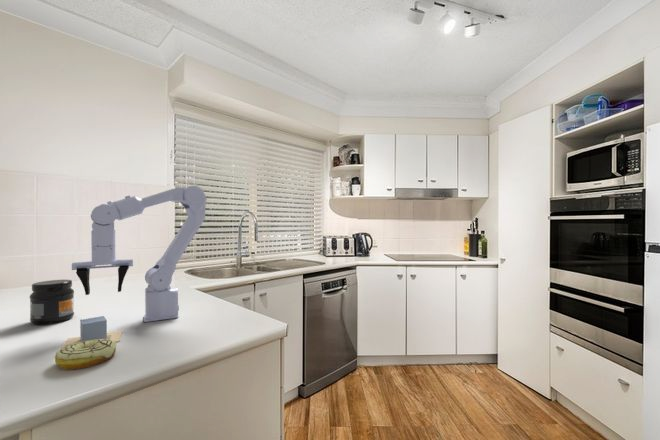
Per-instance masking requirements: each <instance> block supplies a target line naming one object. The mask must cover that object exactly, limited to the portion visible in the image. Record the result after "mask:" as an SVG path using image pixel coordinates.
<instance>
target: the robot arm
mask: <svg viewBox="0 0 660 440" xmlns="http://www.w3.org/2000/svg"><path fill="white" fill-rule="evenodd" d="M167 202H173V203H180V204H181V205H182V207H184V210H185V211H186V215H187V218H186V219H185V221H184V223H182V226H181V227H180V228H179V230H178V232H177V233H176V235H175V236H174V238H173V239H172V241H171V242H170V244H169V245H168V247H167V248H166V250H165V252H164V253H163V255H162V256H161V258H159V259H158V261H157V262H155V264H154V265H153V266H152V267H151V268H149V269H148V270H147V271H146V272H145V274H144V280H145V282H146V284H148V285H147V287H146V288H145V289H144V293H145V295H144V296H145V298H144V299H145V300H144V301H145V302H144V303H145V309H144V313H145V314H144V315H143V322H144V323H147V322H148V323H149V322H155V321H157V322H158V321H161V320H168V319H177V318H179V311H180V304H179V292H178V291H179V290H178V288H177V287H174V288H173V287H171V283H172V281H173V275H174V273H175V272H176V271H175V270H176V267H177V265H178V262H179V261H180V259H181V258H182V256H183V254H184V253H185V251H186V249H187V248H188V247H189V245H190V243H191V242H192V240H193V239H194V236H195V235H196V234H197V232H198V231H199V229H200V228H201V226H202V224H203V222H204V221H205V220H206V202H207V196H206V194H205V191H204V190H203V189H202V188H201V187H200V186H199V185H190V186H187V187H186V186H181V187H177V188H176V187H175V188H171V189H168V190H165V191H162V192H158V193H156V194H151V195H149V196H146V197H142V198H140V197H138V196H134V195H133V196H131V195H126V196H124V198H122V199H119V200H116V201H115V200H114V201H110V200H109V201H107V202H106V203H107V204H105V203H103V204H102V203H101V204H100V205H97V206H95V207H94V208H93V209H92V211H91V214H90V218H91V221H92V224H91V229H92V230H91V234H90V235H91V241H90V242H91V243H90V244H91V261H90V260H89V261H79V262H78V261H77V262H72V263H71V271H76V272H75V273H76V276H77V277H78V278H79V280H80V282H81V284H82V287H83V289H84V293H85V296H89V295H90V293H91V292H90V291H91V289H90V288H91V287H90V273H91V272H90V271H91V269H103V268H104V269H106V268H107V269H108V268H117V276H118V279H117V281H118V283H117V293H120V292H122V288H123V287H122V286H123V282H124V280H125V277H126V275H127V273H128V270H129V268H130V267H133V266H134V259H131V258H130V259H116V230H115V221H117V220H118V221H122V220H125V219H128V218H132V217H135V216H139V215H142V214H143V212H144V211H145V209H146V208H150V207H153V206H157V205H160V204H164V203H167Z"/></svg>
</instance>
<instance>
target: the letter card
mask: <svg viewBox="0 0 660 440" xmlns="http://www.w3.org/2000/svg"><path fill="white" fill-rule="evenodd" d="M122 335H123V330H117V331H116V330H115V331H111V332H110V331H108V332H107V339H111V340H113V341H114V342H116V343H118V342H119V343H120V342H121V338H122ZM65 340H66V341H64V343H63V345H62V346H61V347H60V349H62V348H64V347H65V346H68V345H71V344H74V343H77V342H81V339H80V336H75V337H70V338H67V339H65Z"/></svg>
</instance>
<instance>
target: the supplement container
mask: <svg viewBox="0 0 660 440" xmlns="http://www.w3.org/2000/svg"><path fill="white" fill-rule="evenodd" d="M72 287H73V280H72V279H52V280H44V281H38V282H34V283H32V284H31V291H32V292H31V294H30V295H29V301H30V302H29V308H30V309H29V313H30V314H29V322H30V323H31V324H32V325H36V326H37V325H38V326H39V325H40V326H42V325H53V324H57V323H62V322H66V321H68V320H70V319H72V318H73V317H74V316H75V311H74V308H75V307H74V306H75V305H74V302H75V301H74V300H75V299H74V298H75V297H74V295H75V290H74V289H73V288H72Z"/></svg>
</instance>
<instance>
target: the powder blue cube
mask: <svg viewBox="0 0 660 440" xmlns="http://www.w3.org/2000/svg"><path fill="white" fill-rule="evenodd" d="M107 324H108V323H107V318H106V316H105V315H101V316H95V317H90V318H83V319H80V322H79V325H80V326H79V328H80V333H79V334H80V336H79V337H80V339H81V341H87V340H94V339H107V333H108V331H107V328H108V327H107Z"/></svg>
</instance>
